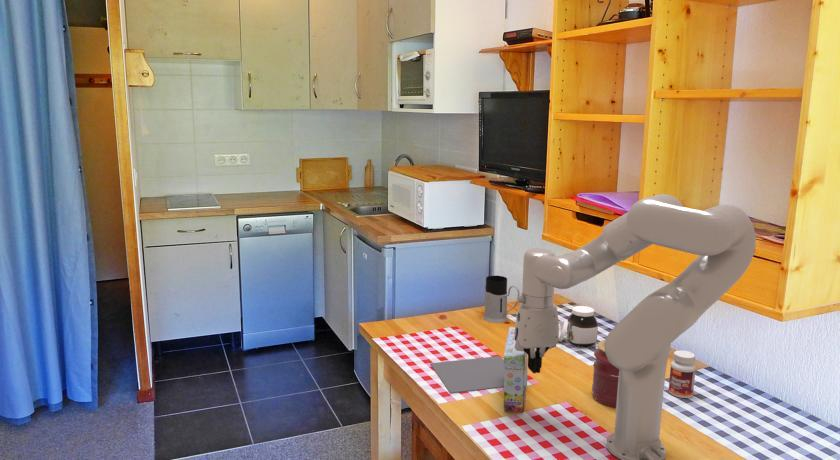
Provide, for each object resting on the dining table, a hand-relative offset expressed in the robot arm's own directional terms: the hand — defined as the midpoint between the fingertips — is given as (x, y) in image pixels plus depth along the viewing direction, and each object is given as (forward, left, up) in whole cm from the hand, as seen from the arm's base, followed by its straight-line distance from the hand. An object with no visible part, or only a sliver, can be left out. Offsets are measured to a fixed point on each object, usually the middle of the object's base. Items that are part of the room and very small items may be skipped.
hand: (534, 370), depth 157 cm
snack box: (+10, 0, -11) cm, 15 cm away
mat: (+25, +6, -11) cm, 28 cm away
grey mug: (+66, -18, -11) cm, 69 cm away
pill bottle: (0, -43, -11) cm, 45 cm away
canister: (+2, -25, -11) cm, 28 cm away
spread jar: (+40, -33, -12) cm, 53 cm away
